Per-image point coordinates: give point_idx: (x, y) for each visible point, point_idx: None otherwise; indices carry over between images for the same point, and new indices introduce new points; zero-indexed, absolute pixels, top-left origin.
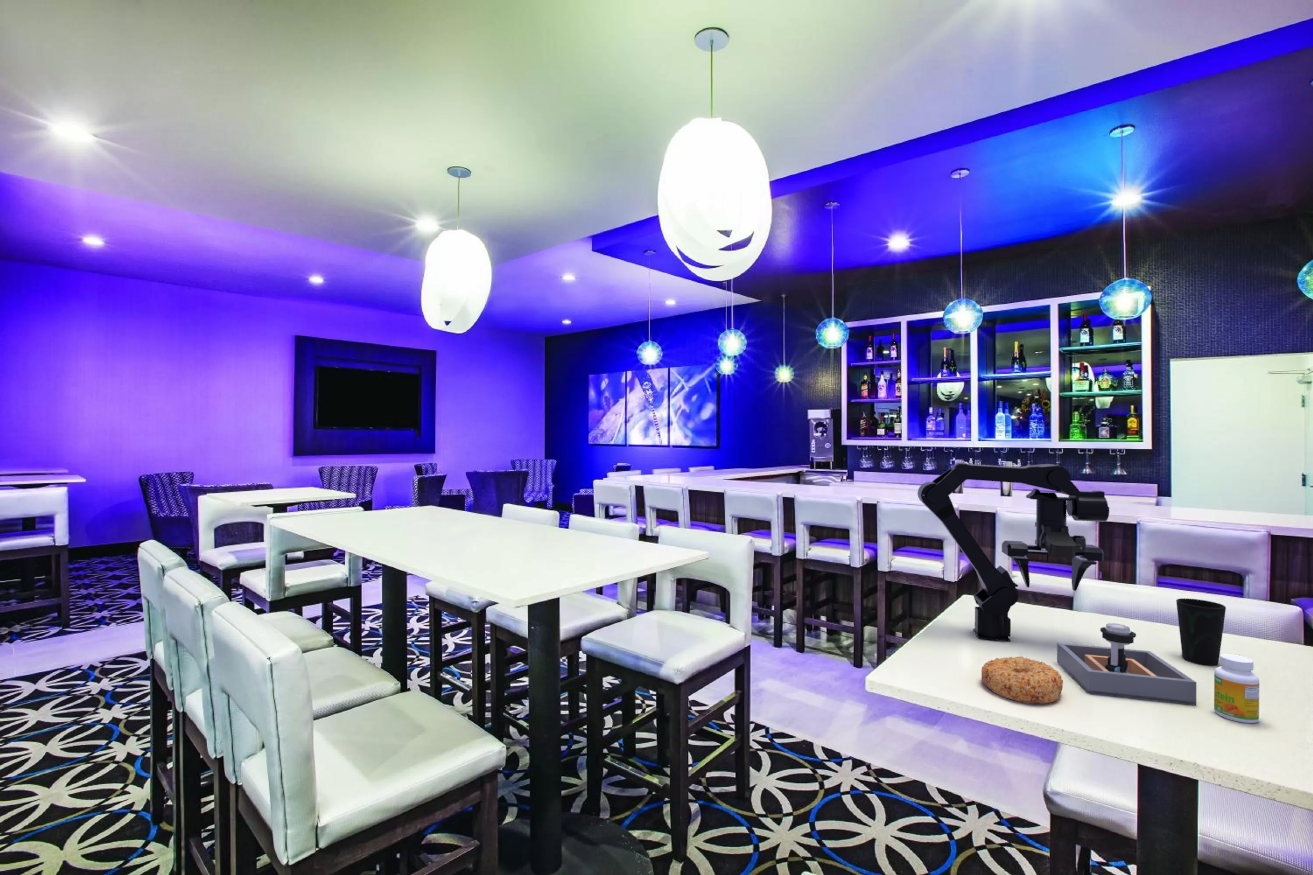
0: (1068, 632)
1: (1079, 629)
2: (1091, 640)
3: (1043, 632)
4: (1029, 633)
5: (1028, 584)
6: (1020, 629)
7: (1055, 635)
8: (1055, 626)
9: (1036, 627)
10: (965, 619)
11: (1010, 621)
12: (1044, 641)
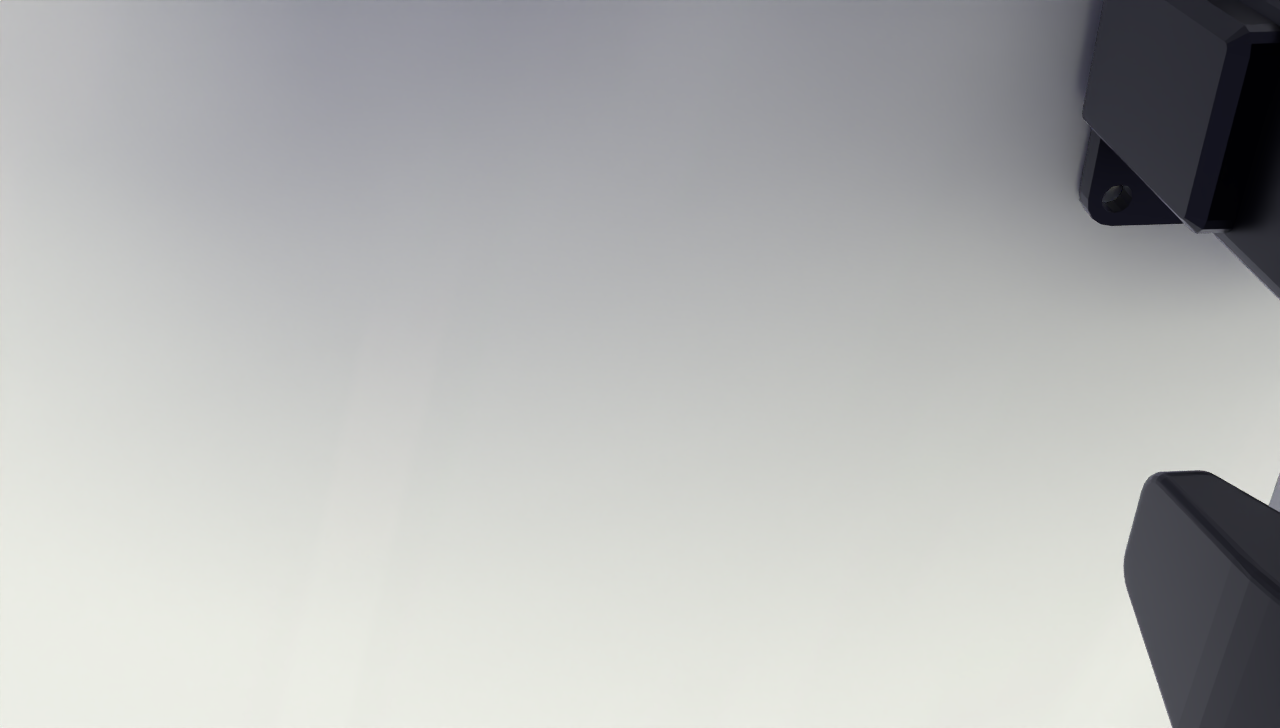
0: (243, 505)
1: (107, 642)
2: (17, 283)
3: (534, 415)
4: (719, 322)
5: (1230, 505)
6: (775, 443)
7: (419, 344)
8: (344, 662)
9: (562, 569)
10: None
11: (1217, 25)
12: (632, 30)
